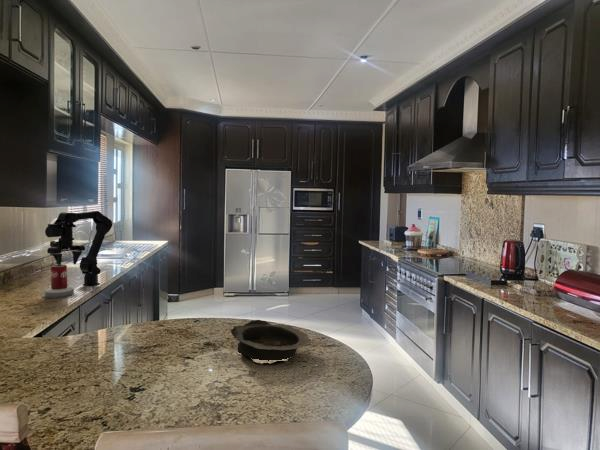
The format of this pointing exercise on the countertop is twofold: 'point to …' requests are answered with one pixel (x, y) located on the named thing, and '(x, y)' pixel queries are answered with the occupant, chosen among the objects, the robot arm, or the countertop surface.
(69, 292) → the riser
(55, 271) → the soda can
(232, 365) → the countertop surface
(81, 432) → the countertop surface
